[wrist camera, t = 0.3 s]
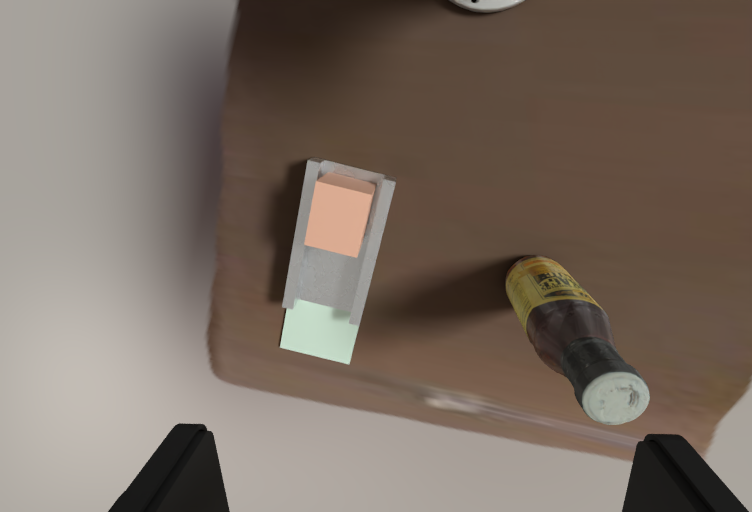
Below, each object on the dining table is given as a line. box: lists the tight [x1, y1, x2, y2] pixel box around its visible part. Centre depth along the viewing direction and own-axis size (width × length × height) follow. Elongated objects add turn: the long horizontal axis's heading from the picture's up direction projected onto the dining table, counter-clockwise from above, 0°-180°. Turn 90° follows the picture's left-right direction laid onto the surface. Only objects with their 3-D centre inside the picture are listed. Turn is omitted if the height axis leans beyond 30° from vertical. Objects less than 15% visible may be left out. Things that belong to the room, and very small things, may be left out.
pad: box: [280, 299, 359, 364], centre depth 47 cm, size 7×9×1 cm
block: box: [304, 172, 377, 258], centre depth 38 cm, size 6×5×6 cm
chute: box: [282, 157, 396, 326], centre depth 42 cm, size 16×9×3 cm, turn 167°
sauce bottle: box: [506, 256, 650, 425], centre depth 34 cm, size 6×6×20 cm
